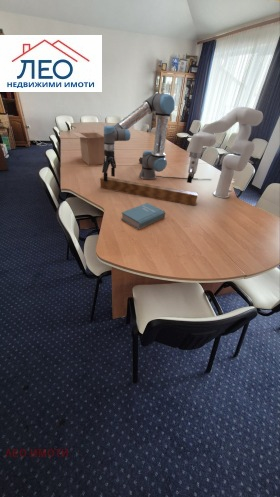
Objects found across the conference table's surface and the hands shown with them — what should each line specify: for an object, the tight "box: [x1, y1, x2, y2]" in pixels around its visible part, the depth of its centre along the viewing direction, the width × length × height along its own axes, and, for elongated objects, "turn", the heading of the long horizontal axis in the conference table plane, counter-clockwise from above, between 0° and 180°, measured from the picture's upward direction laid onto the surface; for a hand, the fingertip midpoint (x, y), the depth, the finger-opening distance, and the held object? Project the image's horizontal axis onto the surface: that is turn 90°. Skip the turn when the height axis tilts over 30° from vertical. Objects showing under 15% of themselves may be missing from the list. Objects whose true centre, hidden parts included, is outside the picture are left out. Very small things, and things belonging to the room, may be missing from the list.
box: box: [70, 129, 106, 166], centre depth 229 cm, size 44×36×27 cm
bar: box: [99, 175, 199, 206], centre depth 170 cm, size 76×5×8 cm, turn 72°
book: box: [121, 202, 166, 230], centre depth 139 cm, size 23×16×5 cm
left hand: (109, 178), depth 174 cm, fingers open, 13 cm apart
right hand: (190, 180), depth 155 cm, fingers open, 9 cm apart
